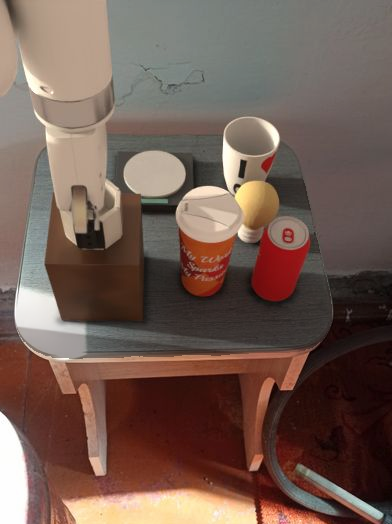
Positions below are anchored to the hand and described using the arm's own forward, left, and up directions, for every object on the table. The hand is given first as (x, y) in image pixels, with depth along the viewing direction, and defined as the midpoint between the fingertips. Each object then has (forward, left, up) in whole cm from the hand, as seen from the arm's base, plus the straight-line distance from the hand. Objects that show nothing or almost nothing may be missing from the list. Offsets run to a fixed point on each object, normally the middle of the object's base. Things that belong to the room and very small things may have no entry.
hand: (93, 220), depth 67 cm
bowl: (0, 0, -1) cm, 1 cm away
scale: (+7, +19, -14) cm, 25 cm away
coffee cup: (+14, +1, -14) cm, 20 cm away
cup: (+21, +19, -14) cm, 32 cm away
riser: (0, 0, -14) cm, 14 cm away
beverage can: (+24, 0, -14) cm, 28 cm away
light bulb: (+21, +9, -14) cm, 27 cm away
